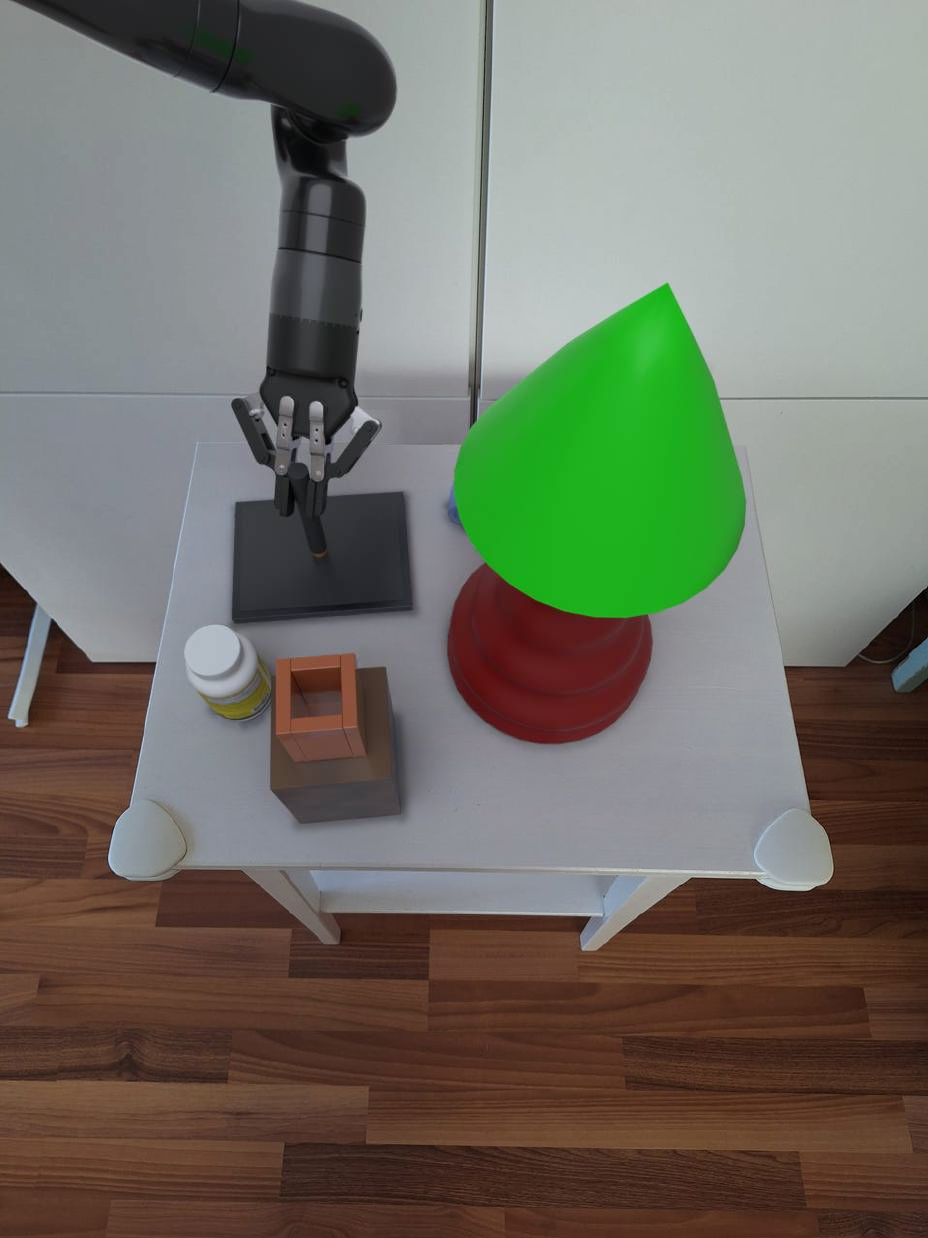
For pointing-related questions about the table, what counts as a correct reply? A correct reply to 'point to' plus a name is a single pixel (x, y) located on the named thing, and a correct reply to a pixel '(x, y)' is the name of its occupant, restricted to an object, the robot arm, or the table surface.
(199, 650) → the pill bottle
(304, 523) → the stylus
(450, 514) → the decorative dice
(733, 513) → the table lamp
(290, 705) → the pen cup
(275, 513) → the tablet
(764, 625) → the table surface
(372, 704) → the stand
